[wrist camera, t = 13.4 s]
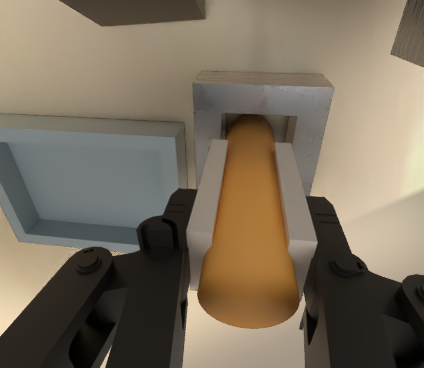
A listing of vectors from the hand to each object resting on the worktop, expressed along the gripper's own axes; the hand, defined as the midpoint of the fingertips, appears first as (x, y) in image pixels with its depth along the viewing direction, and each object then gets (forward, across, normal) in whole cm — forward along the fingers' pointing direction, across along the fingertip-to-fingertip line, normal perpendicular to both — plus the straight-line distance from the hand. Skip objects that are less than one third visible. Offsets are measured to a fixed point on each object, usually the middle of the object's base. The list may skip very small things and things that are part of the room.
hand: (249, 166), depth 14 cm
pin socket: (+5, 0, 0) cm, 5 cm away
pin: (+3, 0, 0) cm, 3 cm away
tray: (+5, -12, -5) cm, 14 cm away
